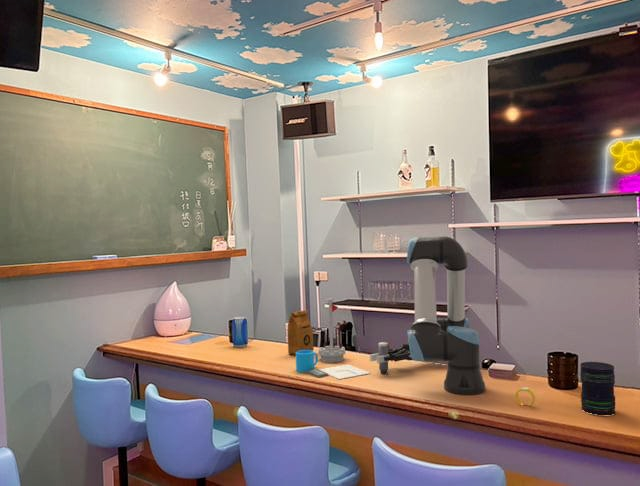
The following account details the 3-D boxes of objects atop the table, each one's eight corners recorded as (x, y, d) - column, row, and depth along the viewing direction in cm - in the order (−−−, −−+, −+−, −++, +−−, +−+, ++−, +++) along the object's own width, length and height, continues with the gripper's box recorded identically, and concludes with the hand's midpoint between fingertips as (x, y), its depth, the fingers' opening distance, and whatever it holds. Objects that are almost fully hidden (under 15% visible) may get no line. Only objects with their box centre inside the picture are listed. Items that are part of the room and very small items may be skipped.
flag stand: (331, 364, 238) (329, 300, 238) (313, 359, 248) (311, 298, 248) (351, 359, 247) (349, 297, 247) (332, 355, 257) (331, 295, 257)
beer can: (246, 347, 281) (245, 318, 281) (231, 348, 281) (230, 319, 281) (249, 344, 290) (248, 316, 290) (234, 344, 290) (233, 316, 290)
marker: (390, 373, 219) (389, 343, 219) (383, 375, 217) (382, 344, 217) (384, 371, 222) (383, 341, 222) (377, 373, 220) (376, 343, 220)
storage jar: (583, 414, 163) (581, 368, 163) (579, 405, 172) (578, 361, 172) (618, 417, 159) (617, 370, 159) (612, 407, 169) (611, 362, 169)
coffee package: (316, 352, 263) (315, 310, 263) (298, 357, 255) (296, 313, 255) (304, 350, 271) (302, 308, 271) (285, 354, 262) (284, 311, 262)
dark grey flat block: (328, 375, 219) (328, 373, 219) (317, 377, 216) (317, 375, 216) (316, 370, 227) (316, 368, 227) (306, 372, 225) (306, 370, 225)
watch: (515, 405, 174) (513, 388, 175) (518, 403, 177) (516, 386, 177) (533, 407, 171) (531, 390, 171) (536, 405, 173) (534, 387, 173)
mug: (304, 373, 224) (304, 355, 224) (292, 370, 230) (291, 352, 230) (324, 368, 232) (323, 350, 232) (311, 365, 238) (311, 347, 238)
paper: (370, 373, 220) (370, 372, 220) (338, 379, 212) (338, 378, 212) (347, 365, 235) (347, 364, 235) (317, 370, 228) (317, 369, 228)
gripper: (427, 362, 223) (387, 371, 210) (400, 355, 237) (361, 364, 223) (426, 345, 223) (387, 353, 210) (400, 339, 237) (361, 347, 223)
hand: (374, 359), depth 217 cm, fingers closed on marker, 4 cm apart
